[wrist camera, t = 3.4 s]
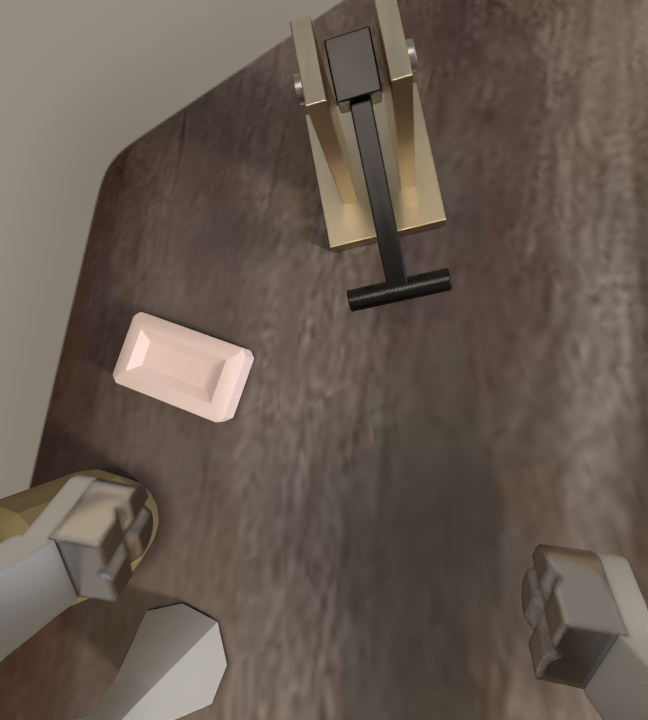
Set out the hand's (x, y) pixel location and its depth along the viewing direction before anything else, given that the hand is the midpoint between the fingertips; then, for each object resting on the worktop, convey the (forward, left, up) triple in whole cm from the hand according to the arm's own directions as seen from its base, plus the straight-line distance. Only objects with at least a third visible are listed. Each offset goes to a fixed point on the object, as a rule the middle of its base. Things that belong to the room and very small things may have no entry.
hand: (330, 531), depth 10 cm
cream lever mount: (-2, -19, -24) cm, 30 cm away
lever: (-2, -14, -15) cm, 21 cm away
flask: (+18, +12, -24) cm, 32 cm away
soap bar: (+14, -8, -24) cm, 29 cm away
